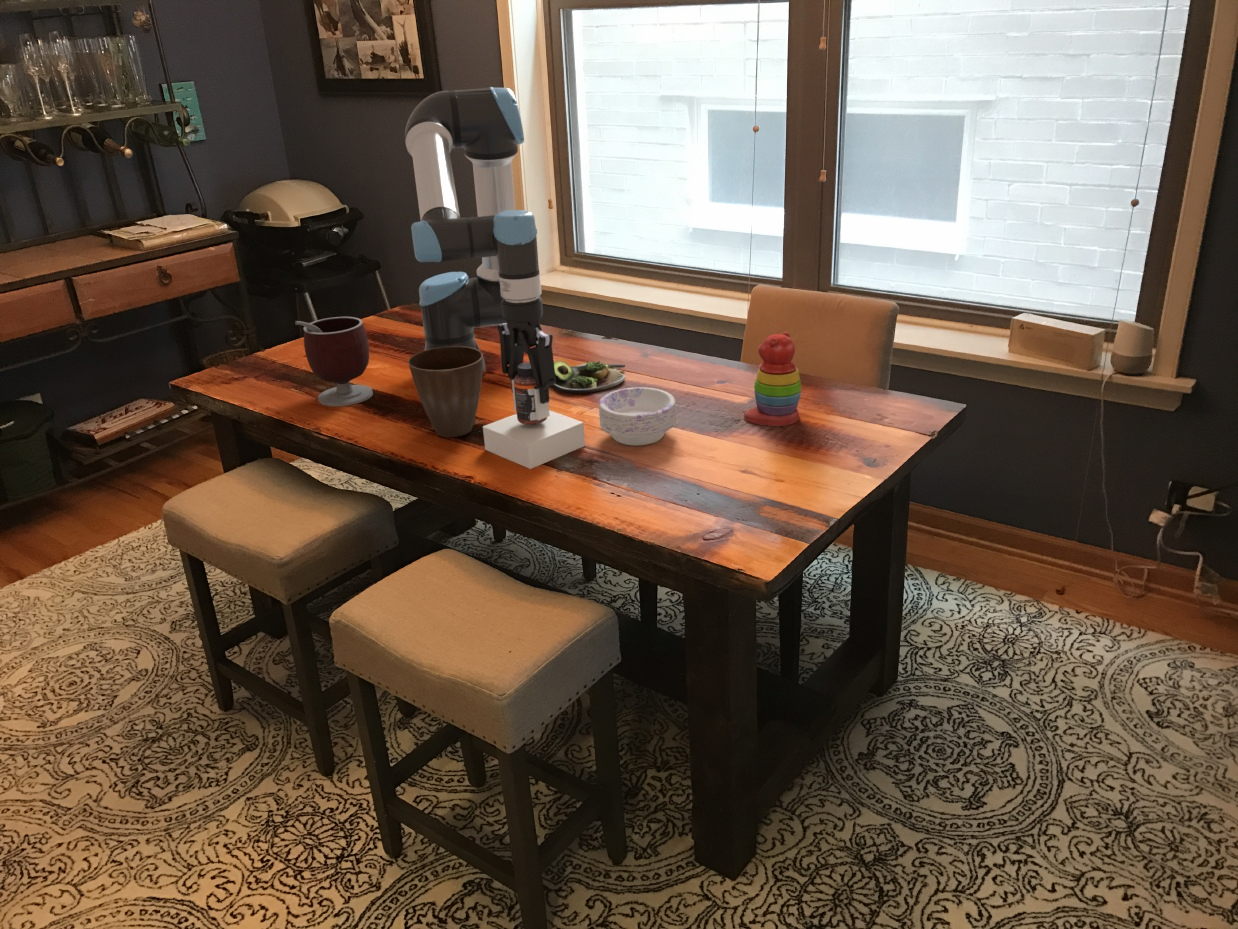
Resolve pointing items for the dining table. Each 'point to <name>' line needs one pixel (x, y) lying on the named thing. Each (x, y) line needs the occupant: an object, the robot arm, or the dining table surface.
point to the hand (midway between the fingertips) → (531, 413)
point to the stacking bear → (776, 384)
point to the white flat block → (534, 439)
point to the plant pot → (448, 387)
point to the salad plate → (585, 377)
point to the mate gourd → (338, 357)
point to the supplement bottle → (525, 395)
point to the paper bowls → (637, 415)
